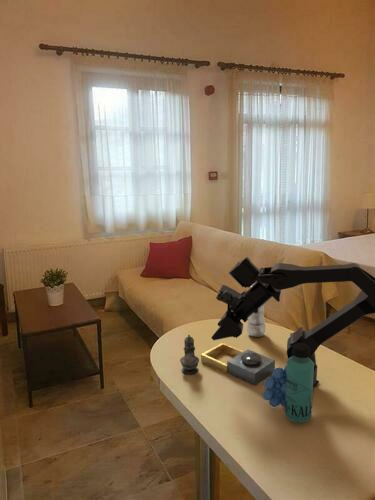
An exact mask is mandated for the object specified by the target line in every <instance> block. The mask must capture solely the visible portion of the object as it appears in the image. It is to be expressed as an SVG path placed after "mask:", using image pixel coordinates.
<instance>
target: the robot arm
mask: <svg viewBox="0 0 375 500" xmlns="http://www.w3.org/2000/svg"><path fill="white" fill-rule="evenodd" d="M228 275H230V276H231V277H232V278H233V279H234V280H235V281H236V282H237V284H238V285H240V286H241V287H242V288H245V289H246V288H248V290H243V291H242V292H239V291H237V290H235V289H234V288H232V287H230V286H228V285H225V284H222V285H221V287H220V289H219V291H218V292H217V295H216V297H215V299H216V300H217V301H219V302H222V303H224V304H226V305H227V310H226V311H225V313H224V314H223V315H222V316H221V318H220V319H219V321H218V322H217V326H218V328H217V330H216V331H215V332H214V333H213V334H212V336H211V338H210V339H212V340H213V341H217V340H223V339H227V338H236V339H237V338H239V337H240V336H241V335H242V334H243V330H244V324H243V323H247V322H248V317H249V316H251V315H252V314H253V313H255V314H256V313H257V312H258V310H259V308H260V307H261V306H262V305H264V304H266V303H267V302H268V301H270V300H271V299H272V298H273V299H274V300H275V301H276V302H278V303H279V302H280V301H281V293H282V290H287V289H291V288H295V287H297V286H300V285H304V284H319V283H337V282H338V283H342V282H344V283H345V282H352V283H353V284H354V285H356V286H357V287H358V288H359V289H360V291H359V293H358V294H357V296H356V297H355V299H354V300H352V301H351V302H349V303H348V304H346V305H345V306H343V307H342V308H340V309H339V310H337V311H336V312H335V313H333V314H331V315H329V317H326V318H325V319H324V320H323V321H321V322H320V323H318V324H317V325H316V326H314V327H312V328H310V329H306V330H305V329H304V327H302V326H300V327H299V328H297V330H296V331H294V332H291V333H289V337H288V339H287V341H286V342H287V343H286V356H287V358H288V359H289V358H290V357H292V356H294V355H293V354H292V348H293V345H294V344H295V343H305V344H307V345H309V347H310V356H309V357H308V358H309V359H311V360H312V361H313V363H314V374H313V389H314V388H315V387H316V386H317V385H319V384H320V380H318V374H317V373H318V364H317V360H316V351H317V350H318V348H319V347H320V346H321V345H322V344H323V343H326V342H327V341H328V340H330V339H331V338H333V337H334V336H336V335H337V334H339V333H341V332H342V331H343V330H344V329H347V328H348V327H349V326H351V325H352V324H354V323H356V322H357V321H358V320H360V319H361V318H363V317H365V316H368V315H373V314H375V276H373V275H372V273H371V274H370V273H369V272H367V270H365V269H363V267H361V265H360V264H358V263H353V262H351V263H348V264H327V265H314V266H313V265H312V266H303V265H302V266H300V265H297V264H294V263H293V264H291V263H284V262H283V263H281V262H280V263H275V264H274V265H273V266H265V267H260V268H258V267H257V266H256V265H255V264H254V263H253V262H252V260H251V259H250V258H249V256H245V257H244V258H243V259H241V260H240V261H238V262H236V264H235V265H234V266H233V267H232V268H231V269H230V270H229V271H228ZM256 281H258V282H257V283H256V284H254V283H255V282H256ZM253 284H254V285H253ZM251 285H253V286H252V287H251ZM242 321H243V322H242Z"/></svg>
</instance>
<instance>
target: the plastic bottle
mask: <svg viewBox="0 0 375 500" xmlns="http://www.w3.org/2000/svg"><path fill="white" fill-rule="evenodd" d="M257 282H258V281H256V282H255V283H254V284H256V283H257ZM254 284H253V285H254ZM253 285H251V286H250V288H251V287H252V286H253ZM265 304H266V303H265ZM265 304H264V305H262V306H261V307H260V308H259V310H258V312H257V313H256V314H255V313H253V314H252V315H251V316H249V317H248V320H247V322H246V323H247V324H246V332H247V334H248V335H249V336H251V337H254V338H259V337H263V336H264V335H265V334H266V323H265Z"/></svg>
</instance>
